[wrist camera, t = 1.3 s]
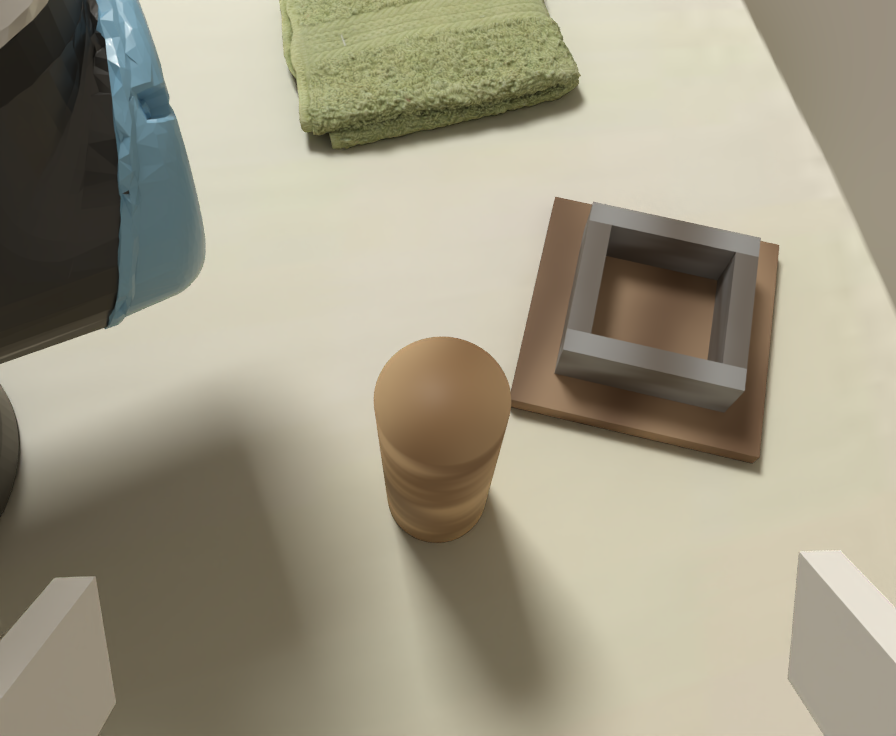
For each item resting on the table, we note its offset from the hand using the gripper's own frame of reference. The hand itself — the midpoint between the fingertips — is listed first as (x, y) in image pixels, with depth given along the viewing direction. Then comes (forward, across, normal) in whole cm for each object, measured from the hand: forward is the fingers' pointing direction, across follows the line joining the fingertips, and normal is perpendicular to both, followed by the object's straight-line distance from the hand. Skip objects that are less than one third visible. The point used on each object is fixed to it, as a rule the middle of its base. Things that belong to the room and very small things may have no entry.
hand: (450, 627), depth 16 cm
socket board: (+31, +11, -2) cm, 33 cm away
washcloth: (+44, -1, +14) cm, 46 cm away
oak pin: (+25, -1, -9) cm, 27 cm away
